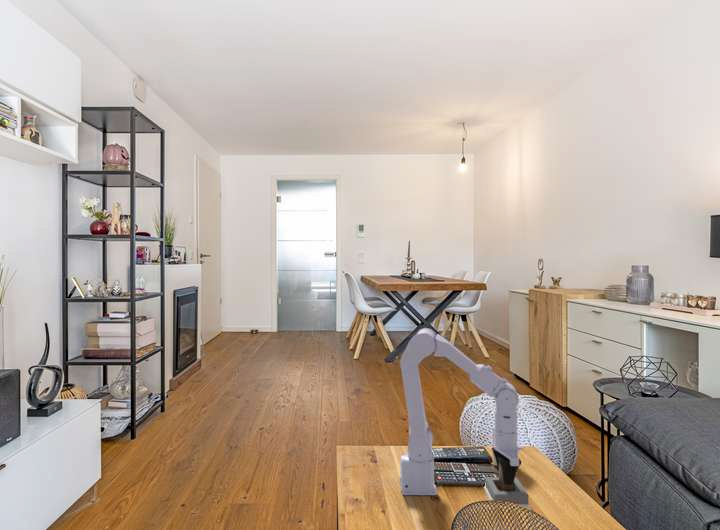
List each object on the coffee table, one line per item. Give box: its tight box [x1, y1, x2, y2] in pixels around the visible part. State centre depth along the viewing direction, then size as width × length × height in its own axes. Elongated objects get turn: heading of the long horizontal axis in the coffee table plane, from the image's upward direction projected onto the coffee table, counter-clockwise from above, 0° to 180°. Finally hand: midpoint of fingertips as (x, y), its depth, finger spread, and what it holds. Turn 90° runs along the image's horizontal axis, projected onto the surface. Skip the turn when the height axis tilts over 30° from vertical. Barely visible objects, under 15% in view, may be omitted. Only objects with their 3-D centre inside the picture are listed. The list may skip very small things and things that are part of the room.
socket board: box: [483, 476, 533, 511], centre depth 113 cm, size 9×12×4 cm
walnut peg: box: [498, 462, 513, 491], centre depth 113 cm, size 4×4×7 cm
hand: (506, 480), depth 113 cm, fingers closed on walnut peg, 3 cm apart
